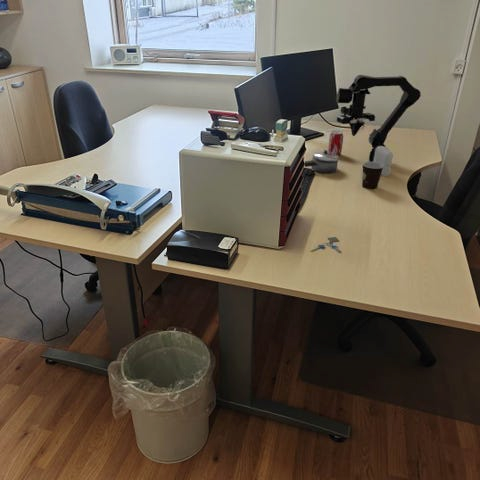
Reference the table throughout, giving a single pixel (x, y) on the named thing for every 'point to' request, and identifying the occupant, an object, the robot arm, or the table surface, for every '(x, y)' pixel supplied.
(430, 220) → the table surface
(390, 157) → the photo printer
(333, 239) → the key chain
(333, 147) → the soda can
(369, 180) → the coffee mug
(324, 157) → the cooker lid
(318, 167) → the pressure cooker pot
